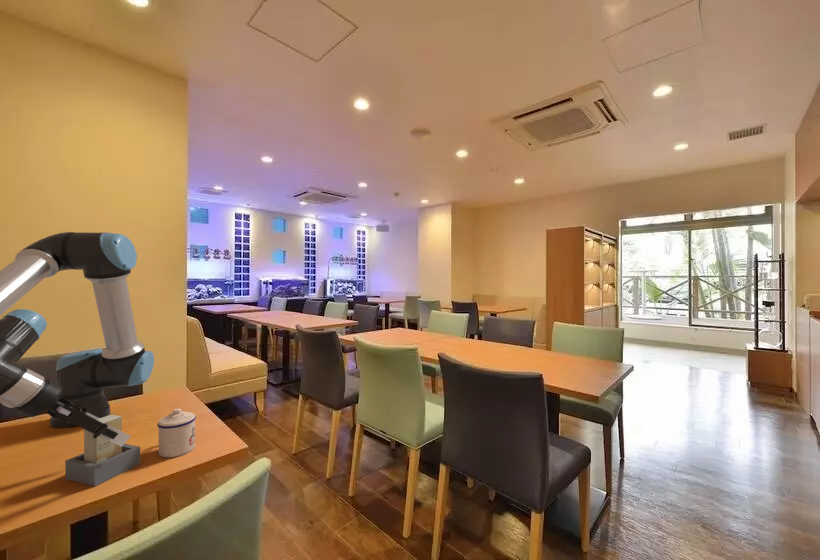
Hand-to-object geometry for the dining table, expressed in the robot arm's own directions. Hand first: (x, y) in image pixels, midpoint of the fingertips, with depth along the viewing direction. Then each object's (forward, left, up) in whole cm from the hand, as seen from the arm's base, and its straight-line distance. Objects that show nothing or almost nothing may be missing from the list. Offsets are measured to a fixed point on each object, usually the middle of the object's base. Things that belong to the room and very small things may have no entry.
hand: (115, 434), depth 91 cm
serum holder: (-1, -2, -8) cm, 9 cm away
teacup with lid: (+6, +12, -9) cm, 16 cm away
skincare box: (0, -2, -8) cm, 8 cm away
